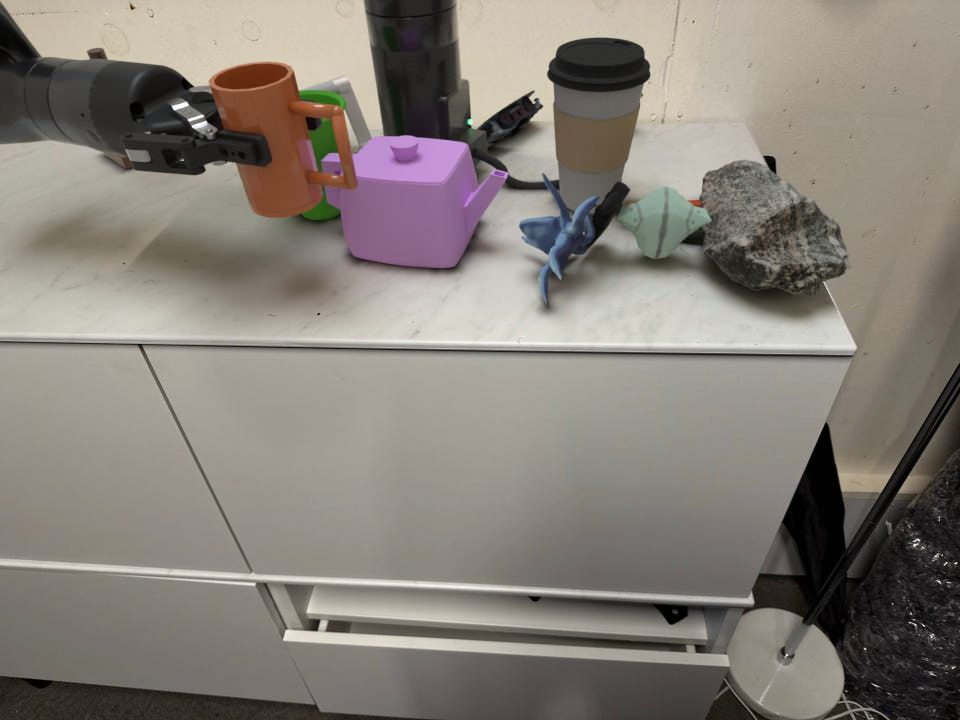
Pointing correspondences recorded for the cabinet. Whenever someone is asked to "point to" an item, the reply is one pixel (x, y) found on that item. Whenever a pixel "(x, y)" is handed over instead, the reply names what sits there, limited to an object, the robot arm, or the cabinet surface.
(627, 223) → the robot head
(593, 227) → the figurine
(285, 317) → the cabinet surface
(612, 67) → the coffee cup
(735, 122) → the cabinet surface
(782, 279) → the rock
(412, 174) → the teapot
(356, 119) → the tablet stand
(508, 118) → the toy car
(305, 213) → the cup
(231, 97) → the mug
